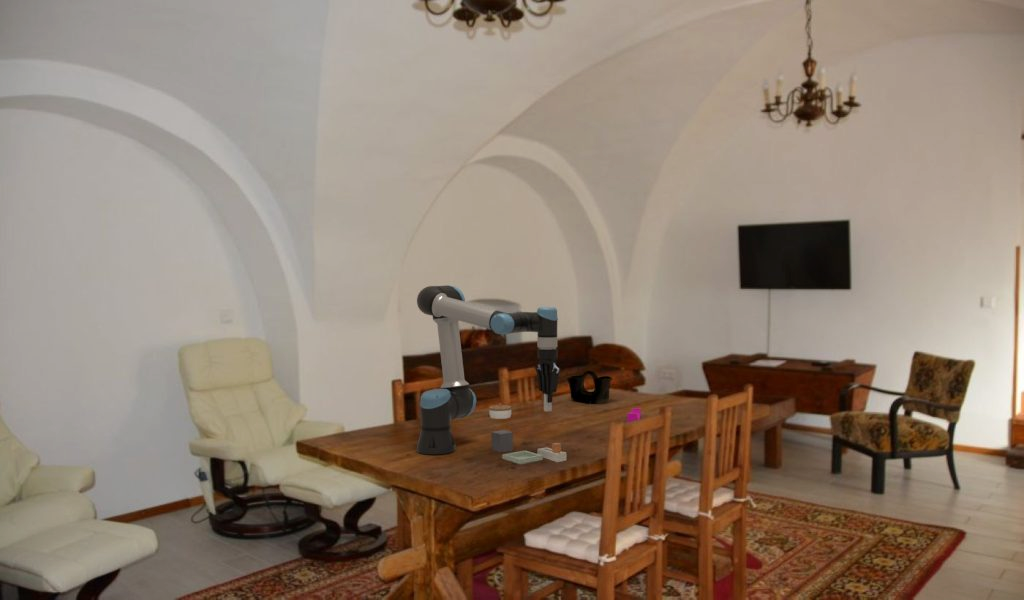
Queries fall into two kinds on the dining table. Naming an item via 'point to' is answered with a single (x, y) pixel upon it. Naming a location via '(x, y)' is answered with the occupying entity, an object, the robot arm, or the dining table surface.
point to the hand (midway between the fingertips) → (547, 410)
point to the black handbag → (586, 397)
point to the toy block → (634, 414)
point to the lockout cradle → (522, 457)
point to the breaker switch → (556, 447)
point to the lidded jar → (500, 411)
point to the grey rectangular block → (502, 441)
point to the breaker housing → (552, 454)
